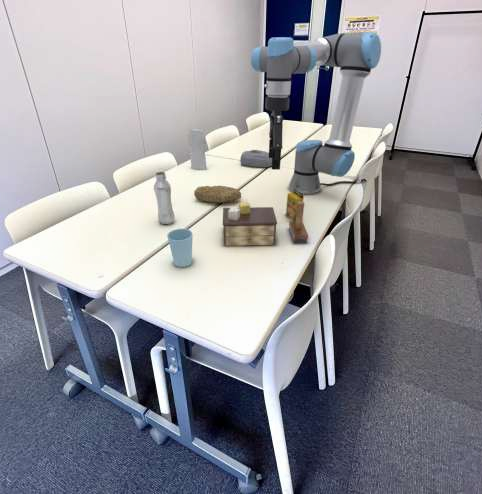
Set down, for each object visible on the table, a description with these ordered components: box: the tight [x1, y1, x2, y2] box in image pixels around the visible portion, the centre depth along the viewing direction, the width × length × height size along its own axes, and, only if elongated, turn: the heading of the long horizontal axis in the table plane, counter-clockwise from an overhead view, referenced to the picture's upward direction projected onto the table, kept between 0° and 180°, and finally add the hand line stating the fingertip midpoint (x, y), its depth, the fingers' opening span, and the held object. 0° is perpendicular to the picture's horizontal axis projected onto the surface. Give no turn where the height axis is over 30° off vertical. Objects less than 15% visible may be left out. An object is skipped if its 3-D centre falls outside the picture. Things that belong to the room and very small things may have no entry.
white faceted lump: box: [228, 207, 240, 220], centre depth 110 cm, size 4×4×3 cm
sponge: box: [193, 185, 242, 204], centre depth 144 cm, size 13×8×20 cm
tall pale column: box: [187, 128, 207, 171], centre depth 181 cm, size 11×4×22 cm, turn 68°
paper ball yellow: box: [238, 201, 251, 214], centre depth 114 cm, size 4×4×3 cm
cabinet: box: [222, 206, 278, 247], centre depth 115 cm, size 18×14×9 cm
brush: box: [288, 200, 309, 244], centre depth 114 cm, size 5×11×13 cm, turn 2°
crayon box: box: [285, 188, 304, 221], centre depth 128 cm, size 7×3×12 cm, turn 23°
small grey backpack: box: [239, 149, 272, 168], centre depth 191 cm, size 15×8×20 cm
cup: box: [166, 228, 194, 268], centre depth 101 cm, size 8×8×10 cm
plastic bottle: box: [153, 171, 176, 225], centre depth 123 cm, size 6×7×20 cm
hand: (273, 163), depth 111 cm, fingers open, 13 cm apart
